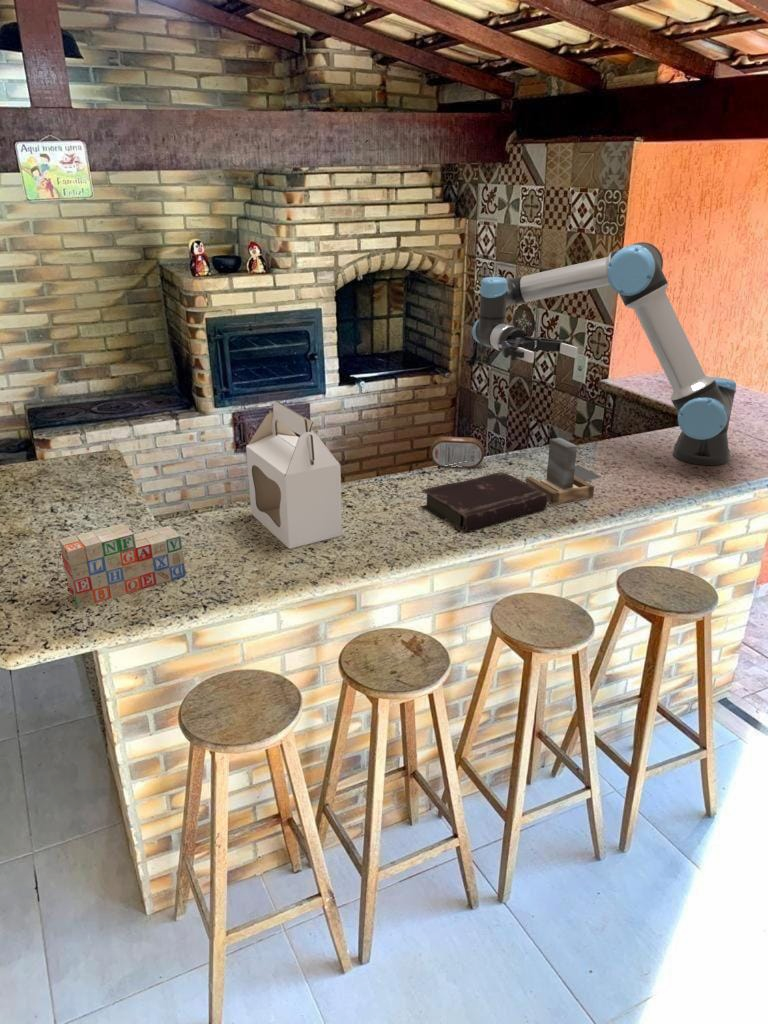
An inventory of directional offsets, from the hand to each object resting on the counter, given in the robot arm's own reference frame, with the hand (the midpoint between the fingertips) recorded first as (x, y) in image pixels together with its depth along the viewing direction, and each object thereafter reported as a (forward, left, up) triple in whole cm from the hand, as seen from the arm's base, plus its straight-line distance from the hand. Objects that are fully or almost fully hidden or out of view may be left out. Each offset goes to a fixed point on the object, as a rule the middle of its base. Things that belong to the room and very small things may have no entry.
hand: (554, 355), depth 195 cm
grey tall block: (+6, +15, -31) cm, 35 cm away
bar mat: (-6, +6, -32) cm, 33 cm away
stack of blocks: (+112, +18, -32) cm, 118 cm away
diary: (+28, +14, -33) cm, 45 cm away
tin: (+20, -13, -32) cm, 40 cm away
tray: (+6, +15, -32) cm, 36 cm away
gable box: (+73, +5, -32) cm, 80 cm away
